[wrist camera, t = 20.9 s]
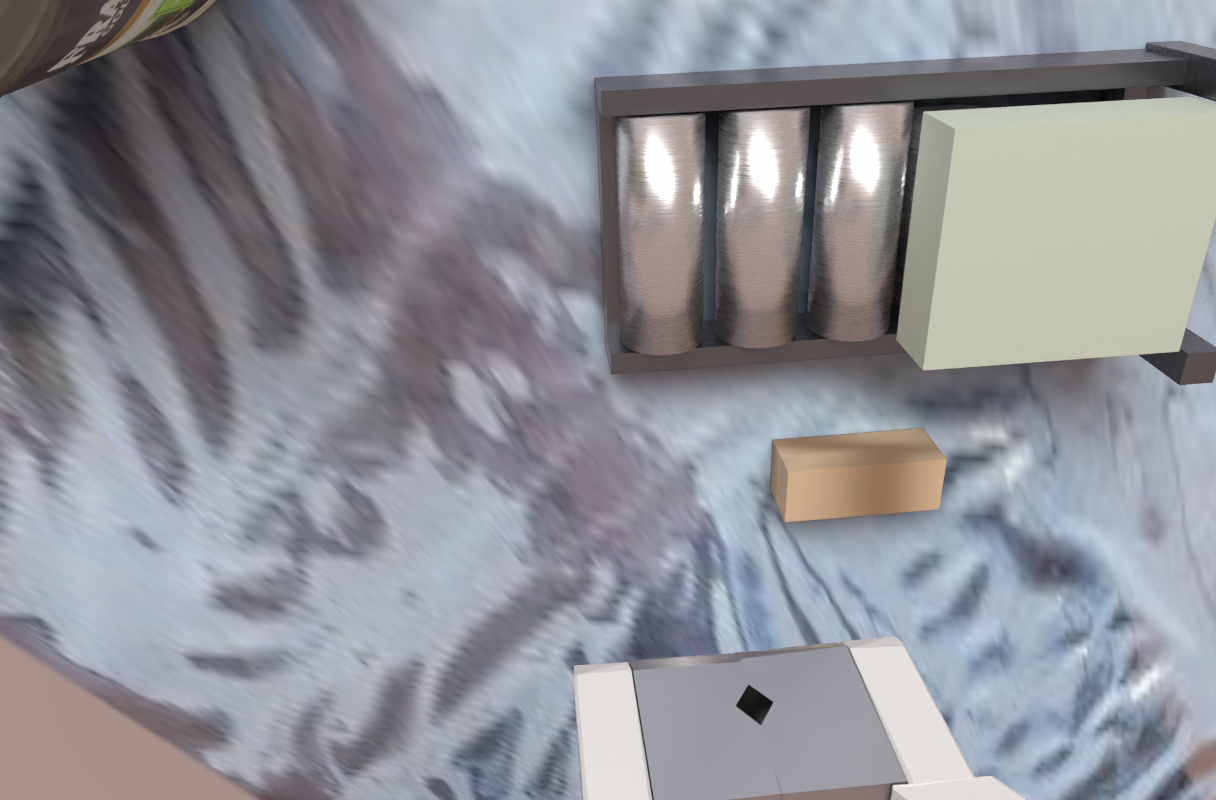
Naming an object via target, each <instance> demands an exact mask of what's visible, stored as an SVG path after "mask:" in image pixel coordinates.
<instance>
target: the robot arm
mask: <svg viewBox="0 0 1216 800" xmlns="http://www.w3.org/2000/svg"><path fill="white" fill-rule="evenodd" d="M574 693H575V707H576V721H577V735H578V749H579V763H580V777H581V791H582V800H1027V799H1025V798H1024V797H1022V796H1021V795H1019V794H1018V793H1016V792H1015V791H1014V790H1012V789H1011V788H1009V787H1008V786H1006V785H1005V784H1003V783H1002V782H1000V781H999V780H997V779H996V778H995V777H993V776H985V777H975V776H974V774H973V772H972V771H971V769H970V767H969V765H968V763H967V761H966V759H965V757H964V756H963V754H962V752H961V750H960V748H959V746H958V744H957V742H956V741H955V739H954V737H953V735H952V733H951V731H950V729H949V728H948V726H947V724H946V722H945V720H944V718H943V716H942V714H941V713H940V711H939V709H938V707H937V705H936V703H935V701H934V699H933V698H932V696H931V694H930V692H929V690H928V688H927V686H926V684H925V683H924V681H923V679H922V677H921V675H920V673H919V671H918V670H917V668H916V666H915V664H914V662H913V660H912V658H911V656H910V655H909V653H908V651H907V649H906V647H905V645H904V643H903V642H901V641H900V640H899V639H898V638H896V637H895V636H889V637H880V638H870V639H861V640H852V641H842V642H841V643H840V644H839V643H826V644H817V645H807V646H797V647H787V648H778V649H768V650H758V651H748V652H739V653H734V654H720V655H705V656H690V657H676V658H661V659H647V660H632V661H630V665H629V664H628V662H625V663H608V664H591V665H575V666H574Z"/></svg>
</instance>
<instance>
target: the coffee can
mask: <svg viewBox="0 0 1216 800" xmlns="http://www.w3.org/2000/svg"><path fill="white" fill-rule="evenodd" d="M215 1H216V0H0V97H2V96H3V95H5V94H8V93H12V92H14V91H16V90H19V89H21V88H24V87H26V86H29V85H31V84H33V83H35V82H39V81H41V80H43V79H46V78H49V77H50V76H53V75H55V74H58V73H60V72H63V71H65V70H67V69H69V68H72V67H74V66H77V65H80V64H82V63H85V62H87V61H90V60H92V59H95V58H97V57H100V56H103V55H106V54H108V53H111V52H114V51H116V50H118V49H120V48H123V47H126V46H128V45H130V44H133V43H135V42H138V41H142V40H147V39H151V38H155V37H158V36H161V35H164V34H167V33H169V32H171V31H174V30H176V29H178V28H180V27H182V26H185V25H187V24H188V23H190V22H191V21H193V20H194V19H196V18H197V17H198V16H200V15H201V14H202V13H203V12H204V11H205V10H207V9H208V8H209V7H210V6H211V5H212V4H213V3H214V2H215Z"/></svg>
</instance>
